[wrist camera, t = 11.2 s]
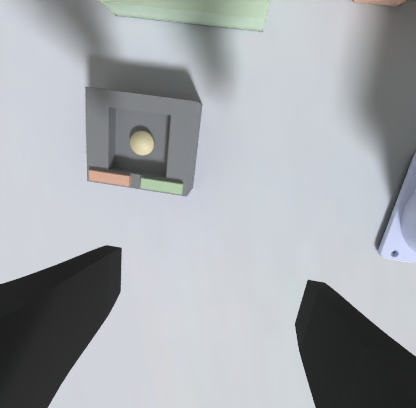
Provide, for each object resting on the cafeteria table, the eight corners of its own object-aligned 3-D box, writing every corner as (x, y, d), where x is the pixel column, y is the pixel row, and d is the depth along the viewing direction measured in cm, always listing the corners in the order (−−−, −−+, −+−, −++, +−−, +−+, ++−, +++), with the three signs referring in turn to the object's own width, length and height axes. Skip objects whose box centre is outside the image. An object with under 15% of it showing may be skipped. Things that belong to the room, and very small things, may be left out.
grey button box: (202, 104, 18) (195, 100, 15) (192, 187, 20) (185, 197, 17) (105, 91, 18) (82, 86, 15) (105, 174, 20) (84, 181, 17)
